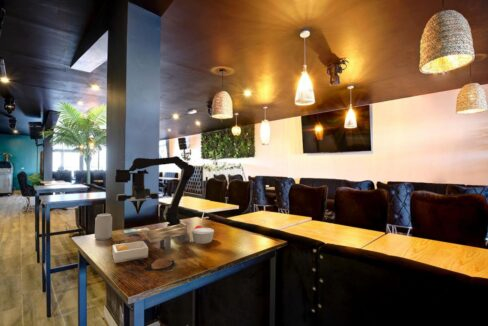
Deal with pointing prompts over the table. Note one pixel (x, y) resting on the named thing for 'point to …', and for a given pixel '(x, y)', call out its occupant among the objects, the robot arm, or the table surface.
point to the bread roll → (161, 265)
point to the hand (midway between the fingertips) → (137, 213)
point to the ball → (123, 248)
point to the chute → (163, 233)
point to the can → (103, 226)
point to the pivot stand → (166, 244)
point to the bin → (130, 251)
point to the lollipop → (200, 223)
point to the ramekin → (202, 235)
